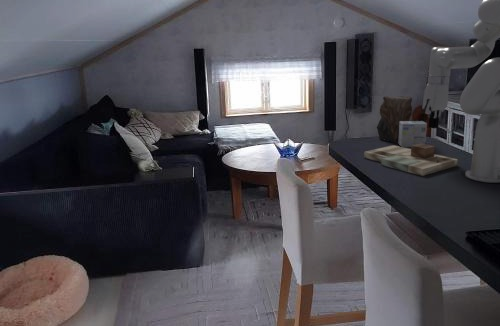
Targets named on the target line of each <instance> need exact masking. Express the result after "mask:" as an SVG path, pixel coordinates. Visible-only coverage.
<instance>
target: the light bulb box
mask: <svg viewBox="0 0 500 326" xmlns="http://www.w3.org/2000/svg"><path fill="white" fill-rule="evenodd" d="M427 127H428V123H427V122H425V121H423V120H420V121H419V120H415V121H414V120H411V121H410V120H409V121H399V137H398V142H397V145H398V144H399V145H400V146H401V147H403V148H411V147H412V145H417V144H426V140H427V129H428V128H427ZM399 145H398V146H399ZM400 146H399V147H400Z"/></svg>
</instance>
